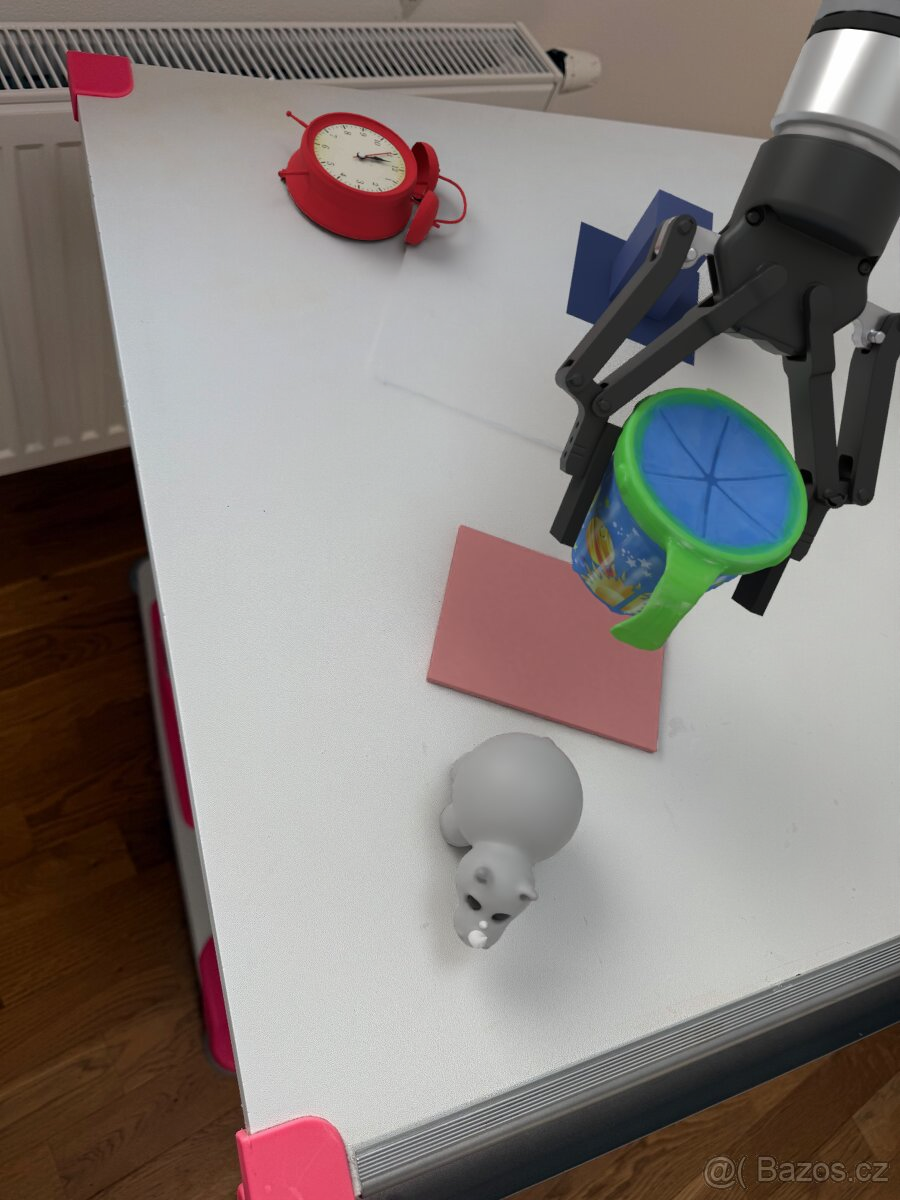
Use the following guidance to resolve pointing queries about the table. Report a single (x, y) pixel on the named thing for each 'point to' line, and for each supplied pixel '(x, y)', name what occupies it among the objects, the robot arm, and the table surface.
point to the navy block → (641, 242)
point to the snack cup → (686, 510)
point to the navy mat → (595, 282)
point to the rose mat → (542, 643)
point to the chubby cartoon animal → (507, 827)
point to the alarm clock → (364, 179)
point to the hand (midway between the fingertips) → (655, 574)
